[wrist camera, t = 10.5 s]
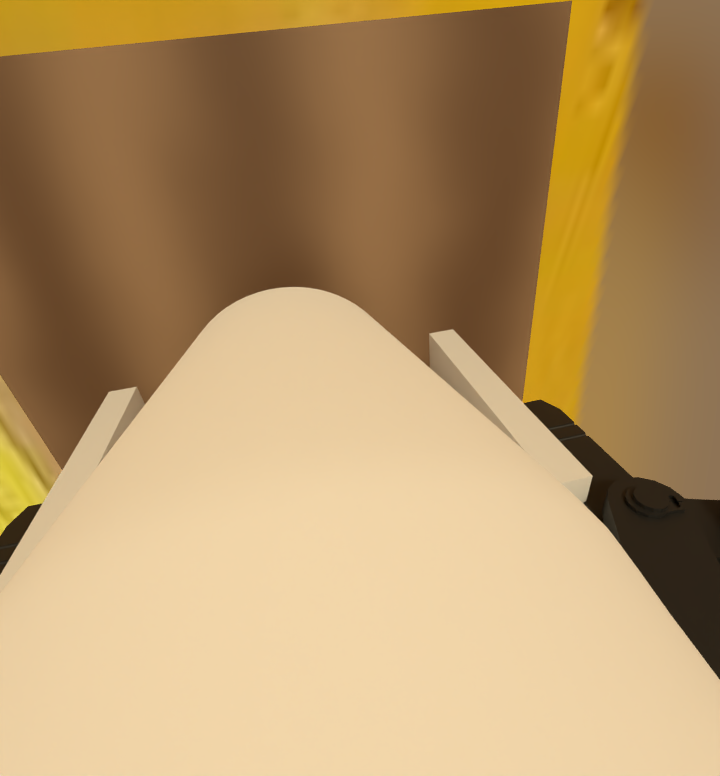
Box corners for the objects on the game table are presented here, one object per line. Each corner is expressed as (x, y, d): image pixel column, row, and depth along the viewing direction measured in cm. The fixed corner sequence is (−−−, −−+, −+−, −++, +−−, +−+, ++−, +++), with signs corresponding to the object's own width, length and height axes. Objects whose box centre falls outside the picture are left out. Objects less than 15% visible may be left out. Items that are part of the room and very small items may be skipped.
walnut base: (151, 508, 22) (130, 575, 19) (-72, 90, 13) (-195, 75, 9) (476, 439, 24) (511, 489, 21) (500, 30, 14) (572, 0, 11)
